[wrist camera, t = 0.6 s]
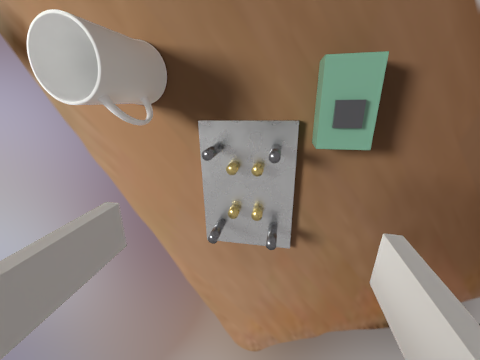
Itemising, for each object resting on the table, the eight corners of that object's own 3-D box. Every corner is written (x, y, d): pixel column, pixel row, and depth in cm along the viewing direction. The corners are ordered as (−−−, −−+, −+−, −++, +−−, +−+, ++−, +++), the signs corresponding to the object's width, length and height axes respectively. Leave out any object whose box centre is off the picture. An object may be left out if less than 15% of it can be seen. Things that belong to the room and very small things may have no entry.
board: (319, 61, 27) (326, 53, 23) (372, 59, 26) (391, 50, 22) (312, 142, 31) (316, 149, 26) (358, 143, 30) (372, 151, 25)
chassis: (200, 120, 32) (183, 124, 27) (298, 120, 30) (301, 124, 24) (209, 236, 39) (196, 258, 34) (289, 244, 37) (290, 270, 31)
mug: (189, 108, 32) (139, 113, 21) (146, 134, 35) (82, 150, 24) (145, 26, 30) (62, -18, 19) (103, 60, 32) (7, 40, 21)
